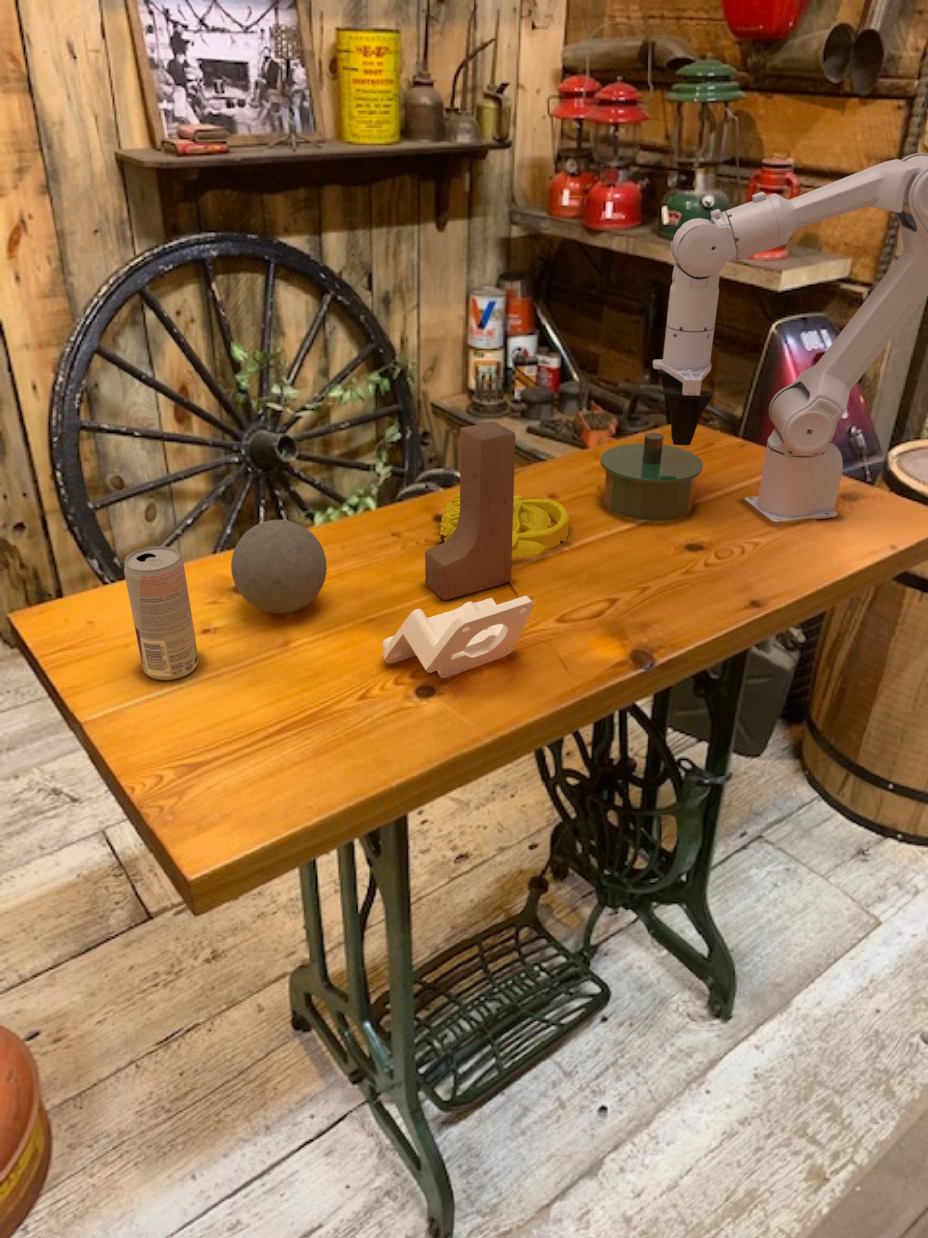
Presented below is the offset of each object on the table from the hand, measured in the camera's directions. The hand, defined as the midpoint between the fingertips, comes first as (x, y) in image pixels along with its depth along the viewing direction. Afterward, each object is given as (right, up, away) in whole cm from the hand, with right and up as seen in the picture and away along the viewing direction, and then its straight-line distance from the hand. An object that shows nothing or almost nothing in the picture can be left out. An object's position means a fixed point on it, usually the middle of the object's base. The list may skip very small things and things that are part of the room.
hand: (677, 433), depth 126 cm
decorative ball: (-47, -23, -19) cm, 56 cm away
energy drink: (-56, -29, -29) cm, 69 cm away
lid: (-3, -4, +2) cm, 5 cm away
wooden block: (-27, -20, -14) cm, 36 cm away
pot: (-3, -9, +5) cm, 11 cm away
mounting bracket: (-28, -29, -29) cm, 49 cm away
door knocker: (-22, -13, -2) cm, 26 cm away
